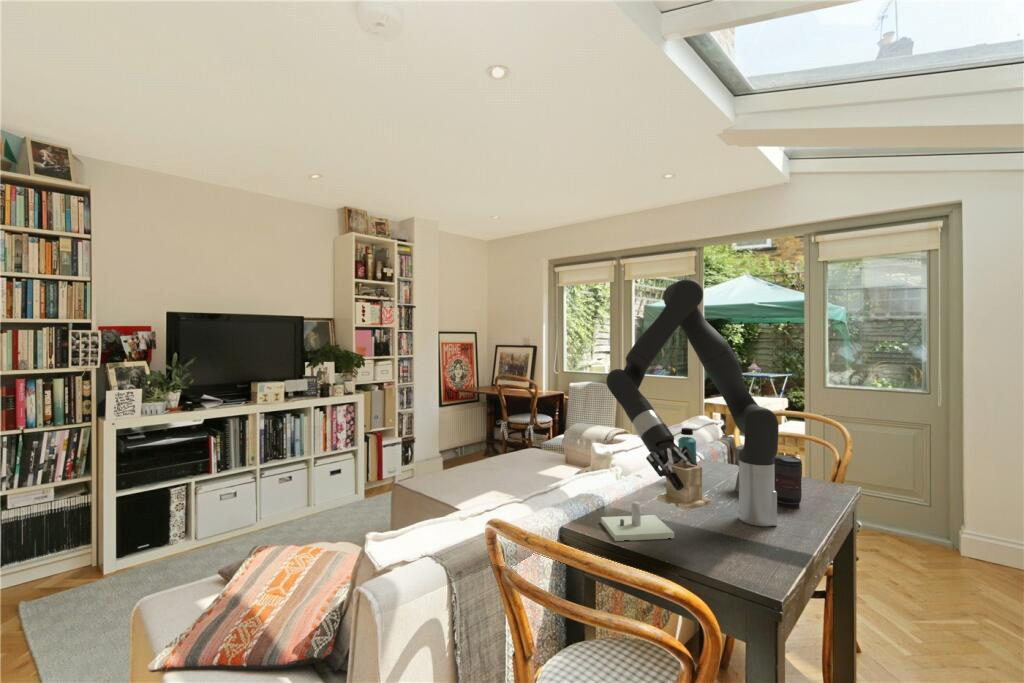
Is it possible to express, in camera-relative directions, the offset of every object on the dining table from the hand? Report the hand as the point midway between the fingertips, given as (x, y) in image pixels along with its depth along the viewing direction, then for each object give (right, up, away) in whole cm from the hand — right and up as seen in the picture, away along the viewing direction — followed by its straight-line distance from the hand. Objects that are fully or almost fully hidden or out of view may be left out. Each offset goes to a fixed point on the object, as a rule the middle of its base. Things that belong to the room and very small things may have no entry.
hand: (689, 486), depth 118 cm
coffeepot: (+39, -16, +48) cm, 64 cm away
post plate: (-10, -16, +14) cm, 23 cm away
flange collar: (-1, -4, +1) cm, 5 cm away
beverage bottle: (+21, -16, +58) cm, 64 cm away
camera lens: (+44, -16, +34) cm, 57 cm away
